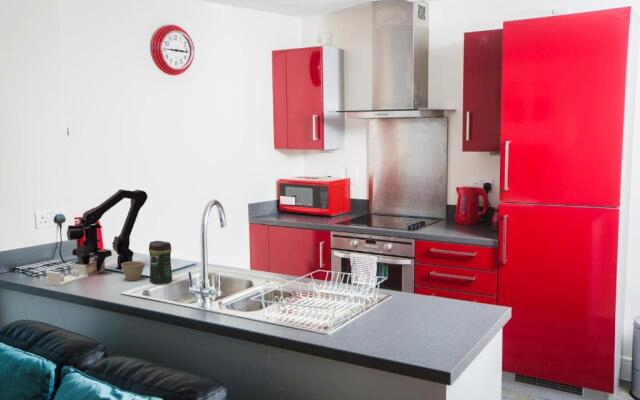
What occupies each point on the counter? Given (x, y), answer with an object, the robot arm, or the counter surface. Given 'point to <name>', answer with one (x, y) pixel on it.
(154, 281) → the coffee jar
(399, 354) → the counter surface
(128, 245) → the robot arm
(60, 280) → the stand
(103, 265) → the tan wooden bar
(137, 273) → the flower pot
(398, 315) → the counter surface
